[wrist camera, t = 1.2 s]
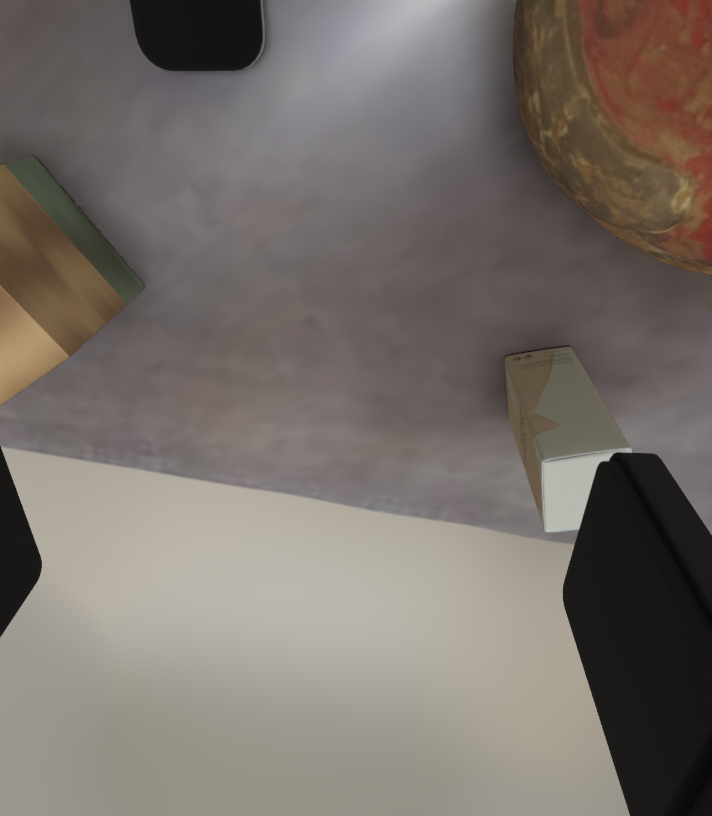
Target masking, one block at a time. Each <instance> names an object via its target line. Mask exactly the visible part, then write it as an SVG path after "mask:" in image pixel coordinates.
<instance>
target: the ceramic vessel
mask: <svg viewBox="0 0 712 816" xmlns="http://www.w3.org/2000/svg"><path fill="white" fill-rule="evenodd" d="M513 62H514V76H515V82H516V89H517V95H518V102H519V108H520V113H521V116H522V119H523V122H524V125H525V128H526V131H527V134H528V136H529V138H530V140H531V142H532V145H533V147H534V149H535V151H536V153H537V155H538V157H539V159H540V161H541V163H542V165H543V167H544V168H545V170H546V171H547V173H548V174H549V176H550V177H551V179H552V180H553V182H554V183H555V184H556V185H557V186H558V187H559V188H560V189H561V190H562V191H563V192H564V193H565V195H566V196H567V197H568V198H569V199H570V200H572V201H573V202H574V203H575V204H576V205H577V206H578V207H579V208H580V209H581V210H582V211H583V212H584V213H586V214H587V215H589V216H591V217H592V218H594V219H595V220H596V221H597V222H598V223H600V224H601V225H602V226H603V227H604V228H606V229H607V230H608V231H609V232H610V233H612V234H613V235H615V236H616V237H618V238H619V239H621V240H622V241H624V242H626V243H627V244H629V245H630V246H632V247H633V248H635V249H637V250H638V251H640V252H641V253H644V254H646V255H648V256H650V257H652V258H654V259H657V260H659V261H661V262H663V263H667V264H670V265H673V266H677V267H680V268H683V269H687V270H690V271H693V272H698V273H703V274H707V275H712V0H517V3H516V11H515V20H514V36H513Z"/></svg>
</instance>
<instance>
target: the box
mask: <svg viewBox="0 0 712 816" xmlns="http://www.w3.org/2000/svg"><path fill="white" fill-rule="evenodd" d="M504 361H505V377H506V392H507V404H508V414H509V420H510V424H511V427H512V430H513V433H514V436H515V439H516V443H517V446H518V449H519V452H520V455H521V458H522V461H523V464H524V468H525V471H526V474H527V477H528V480H529V483H530V486H531V489H532V493H533V496H534V499H535V502H536V505H537V508H538V511H539V514H540V517H541V521H542V524H543V527H544V530H545V532H560V531H571V530H579V528H580V525H581V521H582V518H583V514H584V511H585V507H586V504H587V500H588V497H589V493H590V490H591V486H592V483H593V479H594V476H595V473H596V469H597V467H598V465H599V463H600V462H602V461H609V460H610V457H611V456H612V455H613V454H614V453H616V452H624V453H632V449H631V447H630V445H629V444H628V442H627V440H626V439H625V437H624V435H623V434H622V432H621V430H620V428H619V427H618V425H617V423H616V422H615V420H614V418H613V416H612V415H611V413H610V412H609V410H608V408H607V406H606V405H605V403H604V401H603V400H602V398H601V396H600V395H599V393H598V391H597V389H596V388H595V386H594V385H593V383H592V381H591V379H590V378H589V376H588V375H587V373H586V371H585V369H584V368H583V366H582V365H581V363H580V361H579V359H578V358H577V356H576V355H575V353H574V351H573V349H572V348H571V347H562V348H554V349H546V350H540V351H533V352H528V353H522V354H516V355H511V356H507V357H505V359H504Z"/></svg>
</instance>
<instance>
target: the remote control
mask: <svg viewBox="0 0 712 816" xmlns="http://www.w3.org/2000/svg"><path fill="white" fill-rule="evenodd" d="M130 4H131V10H132V16H133V22H134V28H135V34H136V37H137V41H138V44H139V46H140V48H141V50H142V52H143V53H144V55H145V56H146V57H147V58H148V60H150V61H151V62H152V63H153V64H155V65H156V66H158V67H160V68H162V69H165V70H171V71H235V70H242V69H246V68H248V67H250V66H252V65H253V64H254V63H255V62H256V61H257V60H258V59H259V57H260V55H261V54H262V52H263V48H264V45H265V22H264V7H263V0H130Z"/></svg>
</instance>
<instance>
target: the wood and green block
mask: <svg viewBox="0 0 712 816" xmlns="http://www.w3.org/2000/svg"><path fill="white" fill-rule="evenodd" d="M144 287H145V285H144V284H143V283H142V282H141V281H140V280H139V278H138V277H137V276H136V275H135V274H134V272H133V271H132V270H131V269H130V268H129V267H128V265H127V264H126V263H125V262H124V261H123V260H122V258H121V257H120V256H119V255H118V254H117V253H116V251H115V250H114V249H113V248H112V247H111V245H110V244H109V243H108V242H107V241H106V240H105V238H104V237H103V236H102V235H101V234H100V233H99V231H98V230H97V229H96V228H95V227H94V225H93V224H92V223H91V222H90V221H89V220H88V218H87V217H86V216H85V215H84V214H83V213H82V211H81V210H80V209H79V208H78V207H77V205H76V204H75V203H74V202H73V201H72V200H71V198H70V197H69V196H68V195H67V194H66V193H65V191H64V190H63V189H62V188H61V187H60V186H59V184H58V183H57V182H56V181H55V180H54V178H53V177H52V176H51V175H50V174H49V173H48V171H47V170H46V169H45V168H44V167H43V166H42V164H41V163H40V162H39V161H38V160H37V158H36V157H35V156H30V157H26V158H23V159H19V160H16V161H12V162H8V163H5V164H1V165H0V406H1V405H2V404H4V403H5V402H7V401H8V400H9V399H11V398H12V397H14V396H15V395H17V394H18V393H19V392H21V391H22V390H24V389H25V388H27V387H28V386H29V385H31V384H32V383H34V382H35V381H37V380H38V379H39V378H41V377H42V376H44V375H45V374H46V373H48V372H49V371H51V370H52V369H54V368H55V367H56V366H58V365H59V364H61V363H62V362H64V361H65V360H66V359H68V358H69V357H70V356H71V355H73V354H74V353H75V352H76V351H77V350H78V349H79V348H80V347H81V346H82V345H83V344H84V343H85V342H87V341H88V340H89V339H90V338H91V337H92V336H93V335H94V334H95V333H96V332H97V331H98V330H99V329H100V328H102V327H103V326H104V325H105V324H106V323H107V322H108V321H109V320H110V319H111V318H112V317H113V316H114V315H116V314H117V313H118V312H119V311H120V310H121V309H122V308H123V307H124V306H125V305H126V304H127V303H128V302H129V301H130V300H132V299H133V298H134V297H135V296H136V295H137V294H138V293H139V292H140V291H141V290H142V289H143V288H144Z"/></svg>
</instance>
